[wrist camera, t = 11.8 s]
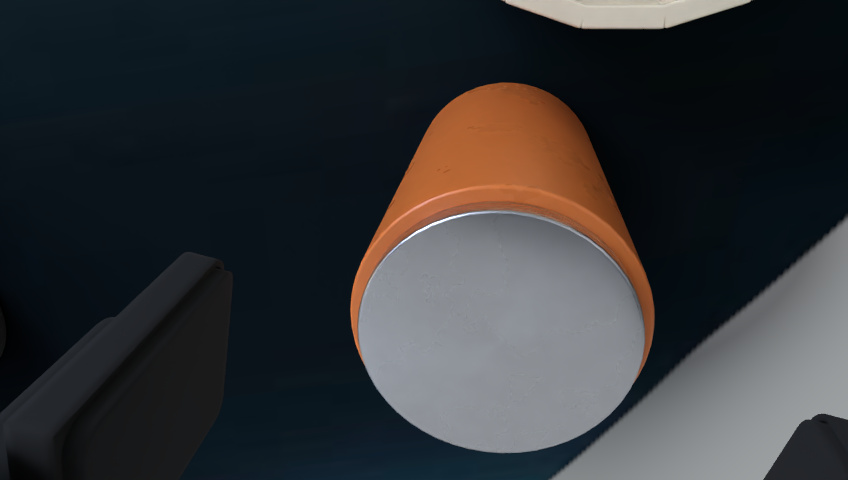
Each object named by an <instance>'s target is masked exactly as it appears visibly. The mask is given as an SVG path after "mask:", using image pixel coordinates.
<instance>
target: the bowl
mask: <svg viewBox="0 0 848 480" xmlns="http://www.w3.org/2000/svg"><path fill="white" fill-rule="evenodd" d="M502 1H505V2H506V3H507V4H510V5H513V6H515V7H518V8H521V9H524V10H527V11H530V12H533V13H536V14H539V15H542V16H544V17H547V18H550V19H553V20H556V21H559V22H562V23H565V24H568V25H570V26H573V27H576V28H582V29H663V28H670V27H673V26H676V25H679V24H682V23H686V22H689V21H692V20H695V19H698V18H701V17H705V16H708V15H711V14H714V13H717V12H721V11H724V10H727V9H730V8H733V7H737V6H740V5H743V4H746V3H749V2H750V1H751V0H502Z"/></svg>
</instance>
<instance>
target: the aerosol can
mask: <svg viewBox="0 0 848 480" xmlns="http://www.w3.org/2000/svg"><path fill="white" fill-rule="evenodd" d="M6 335H7V333H6V325H5V319H4V316H3V313H2V310H1V307H0V357H1V355H2V353H3V350H4V348H5V343H6Z"/></svg>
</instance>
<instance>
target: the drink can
mask: <svg viewBox="0 0 848 480" xmlns="http://www.w3.org/2000/svg"><path fill="white" fill-rule="evenodd" d="M350 311H351V324H352V330H353V335H354V339H355V343H356V346H357V349H358V351H359V354H360V356H361V359H362V361H363V363H364V365H365V367H366V369H367V372H368V374H369V376H370V378H371V379H372V381H373V383H374V385H375V387H376V388H377V389H378V391H379V392H380V393H381V395H382V396H383V398H384V399H385V400H386V401H387V402H388V403H389V404H390V405H391V406H392V408H393V409H394V410H395V411H396V412H398V413H399V414H400V415H401V416H402V417H404V418H405V419H406V420H407V421H408V422H410V423H411V424H413V425H414V426H416V427H417V428H419V429H420V430H422V431H424V432H426V433H428V434H430V435H431V436H433V437H435V438H438V439H440V440H443V441H445V442H448V443H450V444H453V445H457V446H460V447H464V448H467V449H472V450H478V451H483V452H495V453H520V452H528V451H536V450H540V449H544V448H549V447H553V446H556V445H558V444H561V443H564V442H567V441H569V440H572V439H574V438H576V437H578V436H580V435H582V434H584V433H585V432H587V431H588V430H590V429H592V428H593V427H595V426H596V425H598V424H599V423H600V422H601V421H603V420H604V419H605V418H606V417H607V416H609V415H610V414H611V413H612V412H613V411H614V409H615V408H616V407H617V406H618V405H619V404H620V403H621V402H622V400H623V399H624V397H625V396H626V394H627V393H628V392H629V390H630V389H631V386H632V384H633V383H634V382H635V380H636V379H637V377H638V376H639V374H640V372H641V370H642V368H643V366H644V364H645V361H646V359H647V356H648V353H649V350H650V347H651V344H652V338H653V331H654V304H653V298H652V292H651V288H650V285H649V282H648V279H647V276H646V273H645V271H644V268H643V266H642V264H641V261H640V259H639V256H638V254H637V252H636V249H635V247H634V244H633V242H632V240H631V237H630V235H629V233H628V230H627V228H626V225H625V223H624V221H623V218H622V216H621V213H620V211H619V209H618V206H617V204H616V201H615V199H614V197H613V194H612V192H611V189H610V187H609V185H608V182H607V180H606V178H605V175H604V173H603V170H602V168H601V166H600V163H599V161H598V158H597V156H596V154H595V151H594V149H593V146H592V144H591V142H590V139H589V137H588V135H587V132H586V131H585V129H584V127H583V125H582V123H581V122H580V120H579V119H578V117H577V116H576V115H575V113H574V112H573V111H572V110H571V109H570V108H569V107H568V106H567V105H566V104H564V103H563V102H562V101H561V100H559V99H558V98H557V97H555V96H553V95H552V94H550V93H548V92H546V91H544V90H541V89H539V88H536V87H533V86H529V85H525V84H518V83H496V84H489V85H485V86H481V87H477V88H475V89H472V90H470V91H468V92H465V93H464V94H462V95H460V96H459V97H457V98H455V99H454V100H453V101H451V102H450V103H449V104H448V105H446V106H445V107H444V108H443V109H442V110H441V111H440V112H439V113H438V115H437V116H436V117H435V119H434V120H433V121H432V123H431V124H430V126H429V128H428V130H427V131H426V133H425V135H424V137H423V139H422V141H421V143H420V145H419V147H418V149H417V151H416V153H415V155H414V157H413V159H412V161H411V163H410V165H409V167H408V169H407V171H406V173H405V175H404V177H403V179H402V181H401V183H400V185H399V187H398V189H397V191H396V193H395V195H394V197H393V200H392V202H391V204H390V206H389V208H388V210H387V212H386V214H385V216H384V218H383V220H382V222H381V224H380V226H379V228H378V230H377V232H376V234H375V236H374V238H373V240H372V242H371V244H370V246H369V248H368V250H367V252H366V254H365V256H364V258H363V260H362V262H361V264H360V267H359V269H358V272H357V274H356V277H355V281H354V285H353V290H352V295H351V310H350Z"/></svg>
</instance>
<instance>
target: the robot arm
mask: <svg viewBox="0 0 848 480" xmlns="http://www.w3.org/2000/svg"><path fill="white" fill-rule="evenodd" d="M232 286H233V275H232V273H231V272H229V271H225V270H224V265H223V262H222V261H221V260H218V259H214V258H210V257H206V256H202V255H199V254H195V253H191V252H185V253H184V254H182V255H181V256H180V257H179V258H178V259H177V260H176V261H175V262H174V263H173V264H171V265H170V266H169V267H168V268H167V269H166V270H165V271H164V272H163V273H162V274H161V275H160V276H159V277H158V278H157V279H156V280H154V281H153V282H152V283H151V284H150V285H149V286H148V287H147V288H146V289H145V290H144V291H143V292H142V293H141V294H140V295H139V296H138V297H136V298H135V299H134V300H133V301H132V302H131V303H130V304H129V305H128V306H127V307H126V308H125V309H124V310H123V311H122V312H121V313H120V314H118V315H117V316H116V317H115V318H114V317H110V318H105V319H104V320H102V321H101V322H100V323H98V324H97V325H96V326H95V327H94V328H93V329H91V330H90V331H89V332H88V333H87V334H86V335H85V336H84V337H83V338H82V339H81V340H80V341H78V342H77V343H76V344H75V345H74V346H73V347H72V348H71V349H70V350H69V351H68V352H66V353H65V354H64V355H63V356H62V357H61V358H60V359H59V360H58V361H57V362H56V363H54V364H53V365H52V366H51V367H50V368H49V369H48V370H47V371H46V372H45V373H44V374H43V375H41V376H40V377H39V378H38V379H37V380H36V381H35V382H34V383H33V384H32V385H31V386H29V387H28V388H27V389H26V390H25V391H24V392H23V393H22V394H21V395H20V396H19V397H17V398H16V399H15V400H14V401H13V402H12V403H11V404H10V405H9V406H8V407H7V408H6V409H4V410H3V411H2V412H1V413H0V480H178V479H179V478H180V476H181V475H182V473H183V471H184V470H185V468H186V467H187V465H188V463H189V462H190V460H191V459H192V457H193V455H194V454H195V452H196V451H197V449H198V447H199V446H200V444H201V442H202V441H203V439H204V438H205V436H206V434H207V433H208V431H209V430H210V428H211V426H212V425H213V423H214V422H215V420H216V418H217V416H218V414H219V411H220V408H221V405H222V401H223V393H224V381H225V369H226V357H227V345H228V333H229V321H230V309H231V298H232ZM764 480H848V420H846V419H842V418H838V417H834V416H831V415H827V414H818V415H816V416H815V417H813V418H812V419H811V420H805V421H803V422H801V424H800V425H799V426H798V427H797V429H796V430H795V432H794V434H793V435H792V437H791V438H790V440H789V441H788V443H787V444H786V446H785V447H784V449H783V451H782V452H781V454H780V455H779V457H778V458H777V460H776V461H775V463H774V464H773V466H772V467H771V469H770V471H769V472H768V473H767V475H766V477H765V478H764Z"/></svg>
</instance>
